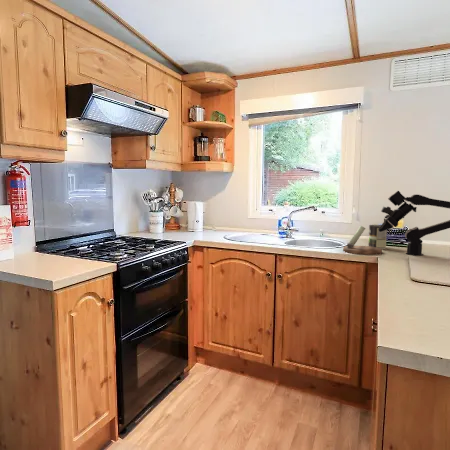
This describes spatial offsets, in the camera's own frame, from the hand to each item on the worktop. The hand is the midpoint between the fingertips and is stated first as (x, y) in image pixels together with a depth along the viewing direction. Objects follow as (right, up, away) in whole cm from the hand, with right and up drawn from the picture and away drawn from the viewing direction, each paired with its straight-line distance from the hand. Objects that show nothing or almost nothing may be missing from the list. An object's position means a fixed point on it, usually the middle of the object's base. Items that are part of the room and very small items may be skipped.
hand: (379, 230), depth 192 cm
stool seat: (-8, -12, +4) cm, 15 cm away
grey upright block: (+7, -11, +18) cm, 23 cm away
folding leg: (-14, -10, +6) cm, 18 cm away
